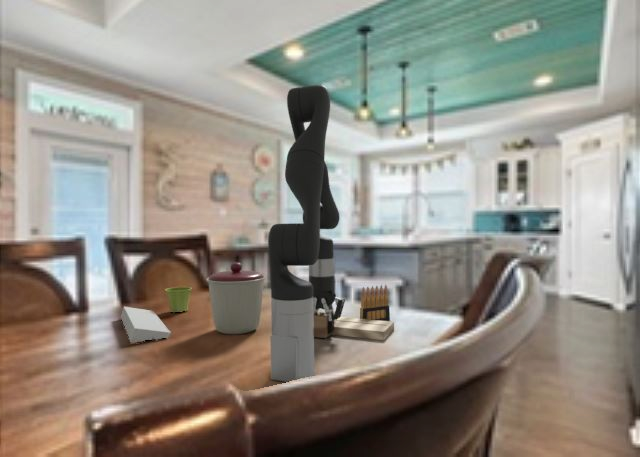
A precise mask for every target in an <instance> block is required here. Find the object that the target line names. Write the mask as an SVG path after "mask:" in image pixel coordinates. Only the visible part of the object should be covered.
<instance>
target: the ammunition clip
mask: <svg viewBox="0 0 640 457" xmlns="http://www.w3.org/2000/svg"><path fill="white" fill-rule="evenodd" d="M359 311H360V312H359V319H369V320H380V321H391V315H390V314H391V313H390V305H389V294H388V286H387V284H384V288H383V285H380V287H379V286H378V285H376V286H375V288H374V286H373V285H372V286H371V289H370V287H369V286H367V287H366V290H365V287H364V286H363V287H362V288H361V299H360V309H359Z"/></svg>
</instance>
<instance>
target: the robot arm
mask: <svg viewBox="0 0 640 457" xmlns="http://www.w3.org/2000/svg"><path fill="white" fill-rule="evenodd" d="M286 97H287V98H286V105H287V106H286V107H287V112H288V117H289V122H290V125H291V128H292V133H293V137H294V142H293V143H292V145H291V146H290V148H289V150H288V153H287V155H286V163H285V170H284V179H285V181H286V184H287V185H288V188H289V190H290V192H292V194H293V196H294V197H295V199H296V200H297V201H298V203H299V204H300V207H301V209H302V211H303V213H302V223H299V222H298V223H275V224H273V225H272V226H271V227H270V229H269V233H268V239H267V248H268V249H267V250H268V260H269V279H270V282H269V283H270V284H269V285H270V295H271V299H270V300H271V301H270V302H271V335H270V338H269V339H270V379H271V380H274V381H279V382H284V383H285V382H286V383H289V382H288V381H292V380H297V379H300V378H305V377H310V376H313V377H314V375H315V337H314V315H315V314H316V313H318V312H319V311H320V309H321V310H324V313H326V314H327V318H328V320H329V321H328V334H331V333H332V332H333V331H334V320H337V319H338V318H340V317H342V313H343V309H344V306H345V302H346V300H345V298H340V297H338V296H337V295H336V293H335V290H336V282H335V280H336V278H335V277H336V276H335V274H336V271H335V260H334V241H333V239H332V238H330V237H326V236H322V235H321V230H333V229H335V228H337V227H338V225H339V223H340V212H339V209H338V206H337V204H336V201H335V199H334V196H333V194H332V191H331V185H330V179H329V170H328V165H327V164H326V161H325V151H326V150H325V149H326V137H327V130H328V126H329V125H328V124H329V119H330V112H331V97H330V93H329V90H328V89H327V87H326V86H325V85H323V84H313V85H306V86H299V87H292V88H290V89H289V91H288V92H287V95H286ZM305 123H309V125H308V126H307V128H306V127H305ZM288 266H289V267H290V266H291V267H293V266H295V267H296V266H298V267H300V266H301V267H305V266H307V267H308V280H307V279H306V280H305V279H303V278H300V277H298V276H297V275H294V274H293V273H292V272H291V271H290V270H289V269H288ZM334 302H335V305H336V307H335V309H334V307H333V304H334ZM333 311H335V314H334V312H333Z"/></svg>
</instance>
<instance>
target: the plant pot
mask: <svg viewBox="0 0 640 457" xmlns="http://www.w3.org/2000/svg"><path fill="white" fill-rule="evenodd" d="M192 289H193V288H192V287H190V286H175V287H169V288H165V289H164V290H165V292H166V295H167V299H168V305H169V311H170V312H171V311H174V312H173V313H175V312H180V311H185V312H187V311H186V310H188V309H189V302H190V294H191V291H192ZM188 311H189V310H188Z"/></svg>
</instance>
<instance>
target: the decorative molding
mask: <svg viewBox="0 0 640 457" xmlns="http://www.w3.org/2000/svg"><path fill="white" fill-rule="evenodd" d="M121 318H122V321H123V324H124V326H125V328H124V330H125V329H126V331H127V333H126V335H127V334H128V336H129V338H128V340H129V339H130V341H129V343H130V342H138V341H144V342H146V341H145V340H152V341H153V340H154V339H161V338H168V337H170V335H171V333H172V332H171V330H169V329H168V327H167V326H166V325H165V324H164V323H163V321H162V320H161V319H160V317H159V316H158V315H157V314H156V313H155V311H154V310H150V309H149V310H148V309H143V308H135V307H130V306H123V309H122V311H121V314H120V319H121ZM122 321H121V322H122ZM123 324H122V325H123ZM124 326H123V327H124ZM126 331H125V332H126ZM128 336H127V337H128ZM168 339H169V338H168Z"/></svg>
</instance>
